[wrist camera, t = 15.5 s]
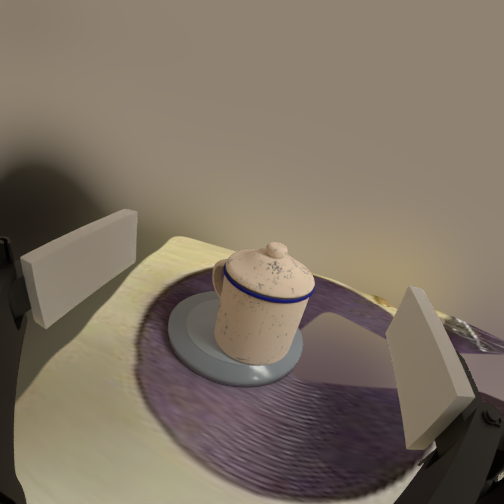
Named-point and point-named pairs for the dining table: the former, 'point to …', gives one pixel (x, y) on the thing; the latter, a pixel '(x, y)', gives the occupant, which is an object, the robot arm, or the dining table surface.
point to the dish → (211, 355)
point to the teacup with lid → (260, 303)
